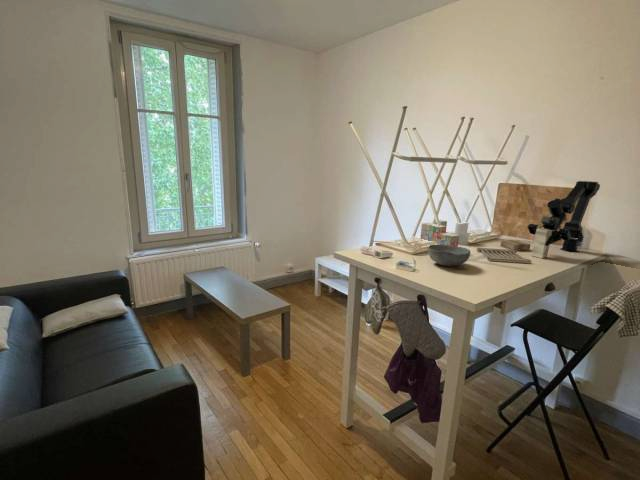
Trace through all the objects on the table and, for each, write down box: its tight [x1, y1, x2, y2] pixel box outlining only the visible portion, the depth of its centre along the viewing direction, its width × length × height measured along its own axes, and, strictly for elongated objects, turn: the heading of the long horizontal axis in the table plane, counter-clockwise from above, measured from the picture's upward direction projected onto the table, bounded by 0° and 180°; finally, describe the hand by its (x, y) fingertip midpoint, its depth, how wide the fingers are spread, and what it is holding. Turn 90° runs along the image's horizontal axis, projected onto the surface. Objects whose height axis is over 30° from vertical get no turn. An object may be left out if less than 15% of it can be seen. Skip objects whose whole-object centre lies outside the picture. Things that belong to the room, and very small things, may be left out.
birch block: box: [531, 227, 552, 259], centre depth 170 cm, size 5×5×14 cm
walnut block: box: [500, 239, 531, 252], centre depth 188 cm, size 10×10×4 cm
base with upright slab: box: [451, 221, 470, 246], centre depth 195 cm, size 9×9×12 cm
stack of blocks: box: [419, 222, 459, 247], centre depth 181 cm, size 21×6×12 cm, turn 26°
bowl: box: [427, 245, 471, 267], centre depth 152 cm, size 18×18×8 cm
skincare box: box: [433, 219, 448, 228], centre depth 199 cm, size 6×4×12 cm
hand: (540, 244), depth 170 cm, fingers closed on birch block, 5 cm apart
